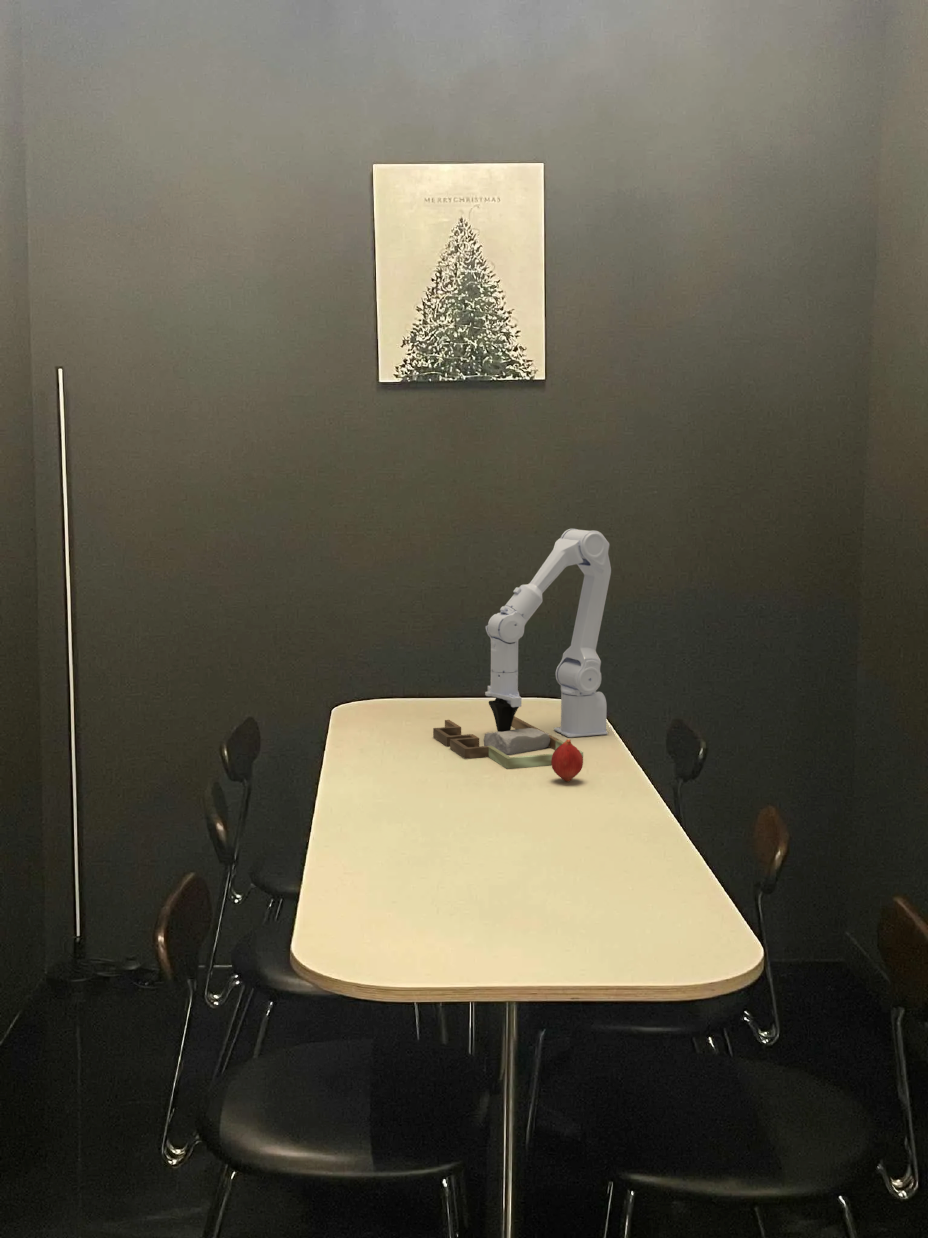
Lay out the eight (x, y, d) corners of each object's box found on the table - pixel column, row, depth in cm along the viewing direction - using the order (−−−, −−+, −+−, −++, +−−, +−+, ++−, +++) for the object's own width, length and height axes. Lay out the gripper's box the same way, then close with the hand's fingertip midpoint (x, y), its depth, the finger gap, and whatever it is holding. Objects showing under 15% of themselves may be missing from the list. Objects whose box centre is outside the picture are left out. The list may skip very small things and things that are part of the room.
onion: (545, 783, 220) (546, 740, 219) (558, 776, 226) (559, 734, 224) (575, 787, 218) (576, 743, 217) (587, 779, 223) (588, 737, 222)
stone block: (478, 756, 248) (509, 755, 240) (476, 732, 248) (507, 731, 241) (523, 750, 255) (554, 749, 247) (521, 727, 256) (552, 726, 248)
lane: (512, 724, 270) (512, 715, 270) (583, 762, 236) (583, 752, 236) (423, 730, 263) (423, 721, 263) (482, 771, 229) (482, 760, 229)
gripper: (474, 666, 257) (474, 728, 259) (499, 677, 244) (498, 743, 245) (505, 664, 260) (504, 726, 261) (531, 675, 246) (530, 740, 248)
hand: (503, 734), depth 253 cm, fingers closed
